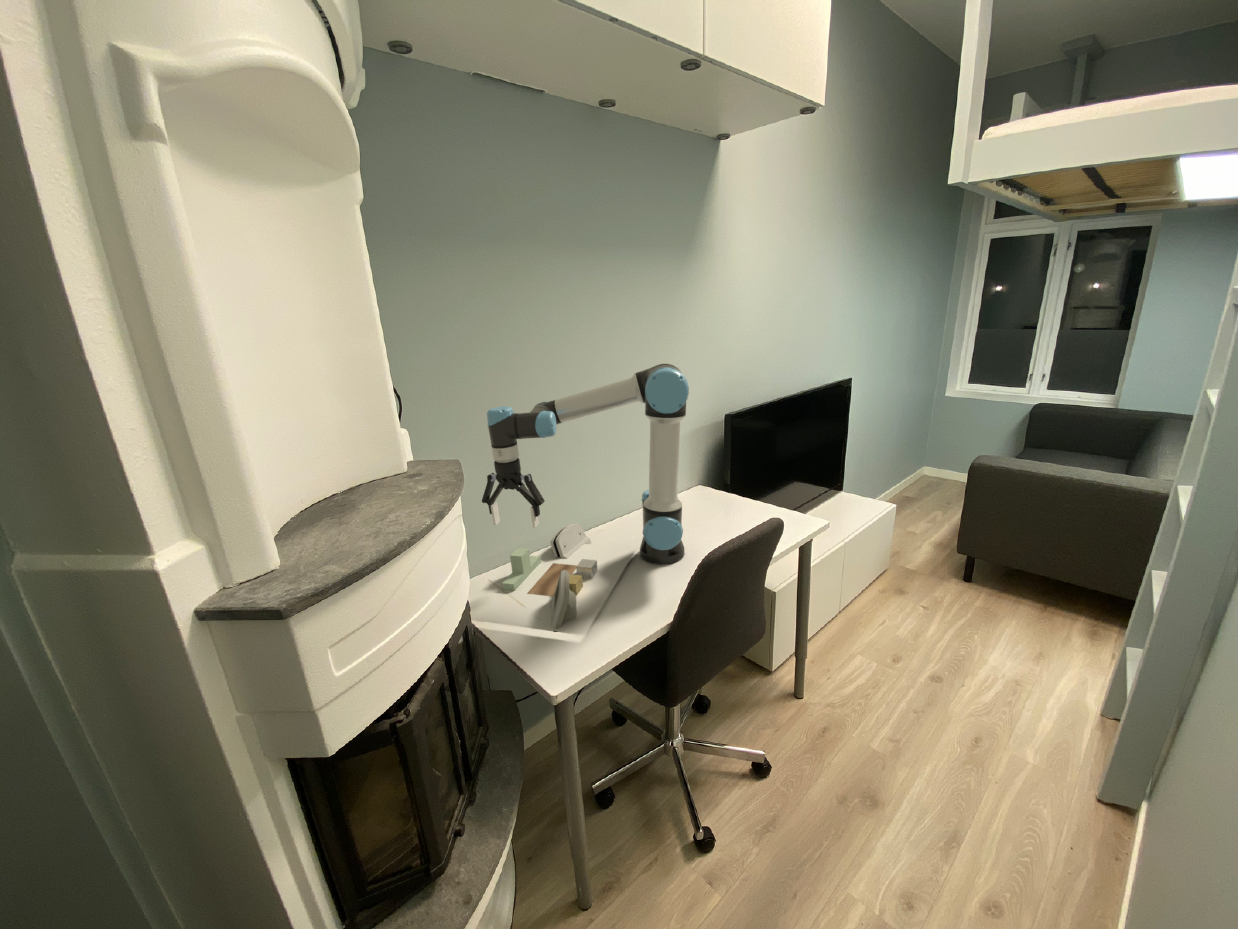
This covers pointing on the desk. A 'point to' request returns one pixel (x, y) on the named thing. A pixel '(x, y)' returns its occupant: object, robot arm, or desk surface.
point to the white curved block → (568, 540)
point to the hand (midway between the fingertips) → (516, 524)
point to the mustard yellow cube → (575, 583)
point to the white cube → (587, 568)
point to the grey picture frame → (563, 602)
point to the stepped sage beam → (520, 568)
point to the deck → (550, 579)
